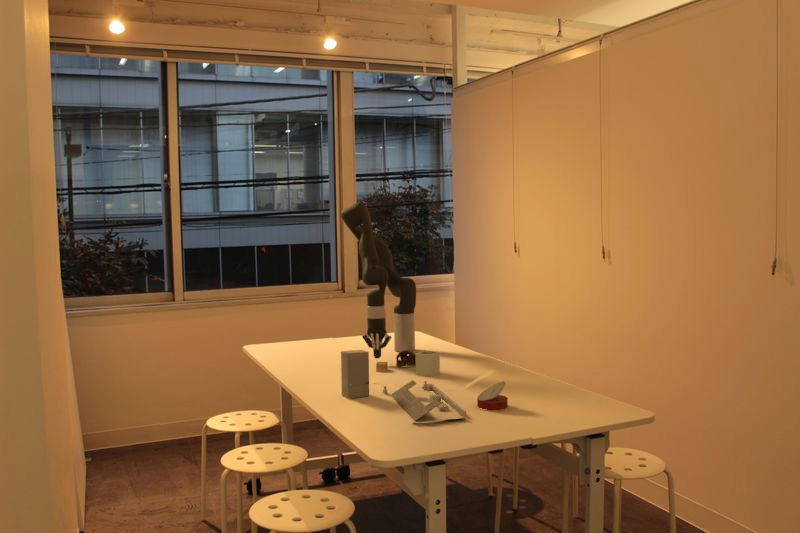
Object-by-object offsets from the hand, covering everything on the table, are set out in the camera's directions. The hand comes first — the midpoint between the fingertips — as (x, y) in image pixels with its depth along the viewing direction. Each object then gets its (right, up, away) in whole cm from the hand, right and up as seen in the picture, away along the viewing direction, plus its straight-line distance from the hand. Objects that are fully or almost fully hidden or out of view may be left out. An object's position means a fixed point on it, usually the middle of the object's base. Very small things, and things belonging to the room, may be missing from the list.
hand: (377, 358), depth 323 cm
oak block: (+2, -4, -12) cm, 13 cm away
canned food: (+39, -8, -67) cm, 78 cm away
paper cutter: (+17, -9, -65) cm, 68 cm away
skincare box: (-6, -8, -49) cm, 50 cm away
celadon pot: (+20, -5, -20) cm, 29 cm away
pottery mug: (+12, -4, -3) cm, 13 cm away
